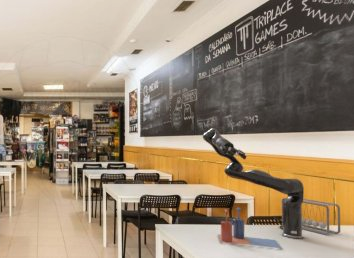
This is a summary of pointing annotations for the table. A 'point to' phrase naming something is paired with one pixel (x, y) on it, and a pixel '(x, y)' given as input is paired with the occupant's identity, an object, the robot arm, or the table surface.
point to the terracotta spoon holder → (226, 230)
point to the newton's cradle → (316, 223)
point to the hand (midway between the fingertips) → (239, 156)
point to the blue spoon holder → (238, 227)
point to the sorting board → (255, 242)
